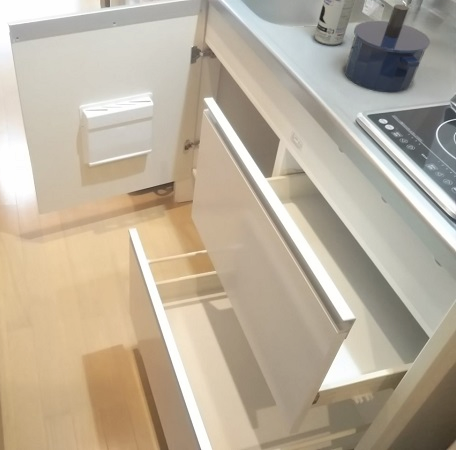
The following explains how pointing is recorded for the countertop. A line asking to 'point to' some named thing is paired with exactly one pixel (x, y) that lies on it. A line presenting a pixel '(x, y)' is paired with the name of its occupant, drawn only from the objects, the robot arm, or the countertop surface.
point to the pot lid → (392, 34)
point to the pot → (381, 68)
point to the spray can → (333, 21)
